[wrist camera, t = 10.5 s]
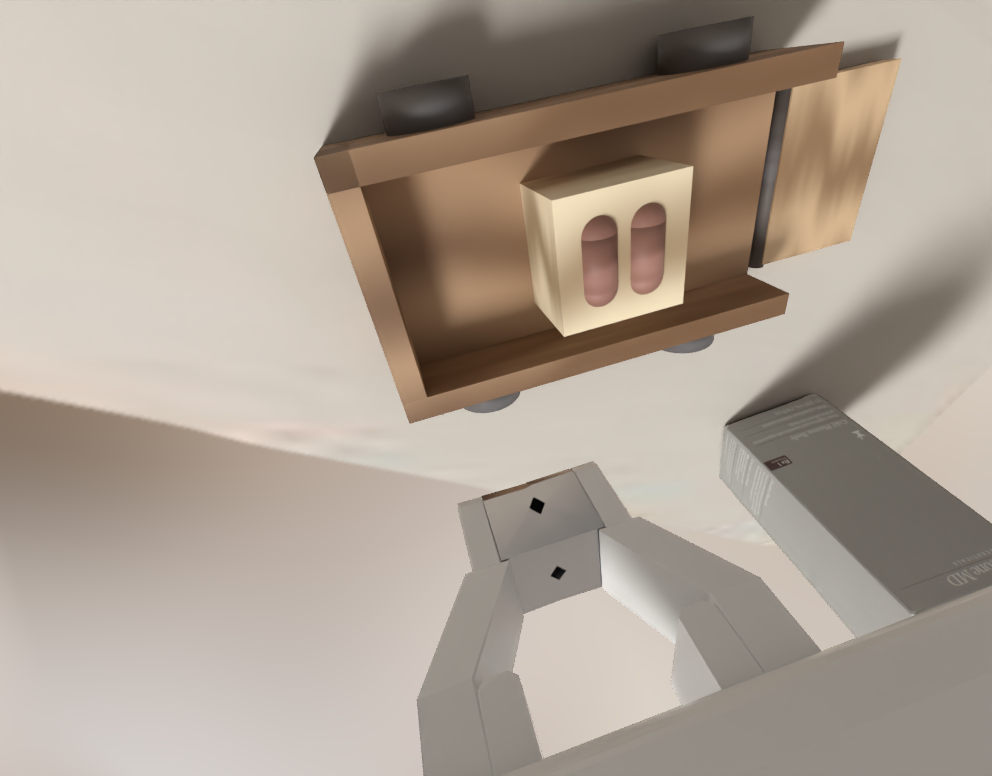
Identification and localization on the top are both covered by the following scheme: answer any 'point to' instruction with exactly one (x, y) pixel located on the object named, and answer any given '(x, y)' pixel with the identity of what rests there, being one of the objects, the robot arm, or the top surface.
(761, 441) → the skincare box
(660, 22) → the top surface
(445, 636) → the robot arm
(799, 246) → the tailgate
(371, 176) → the cart bed
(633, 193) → the block
